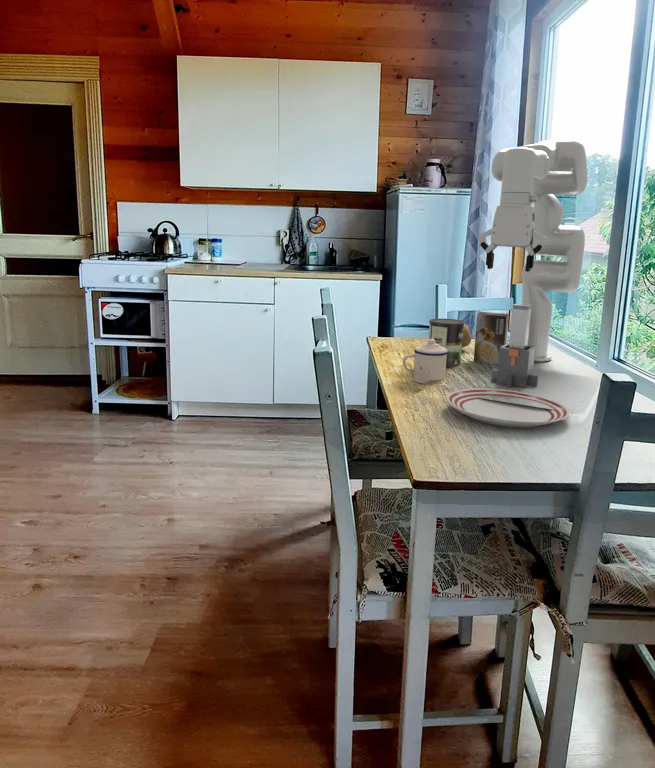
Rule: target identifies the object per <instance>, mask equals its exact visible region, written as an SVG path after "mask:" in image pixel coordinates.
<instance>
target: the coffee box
mask: <svg viewBox="0 0 655 768" xmlns="http://www.w3.org/2000/svg"><path fill="white" fill-rule="evenodd" d="M509 318H510V314H509V313H503V312H502V313H501V312H488V311H479V312H477V314H476V324H475V336H474V337H475V339H474V351H473V362H476V363H480V364H482V363H483V364H491V365H497V366H498V363H499V353H500V347H502V346H503V345H505V344H506V343H507V342H508V341H507V340H508V328H509Z"/></svg>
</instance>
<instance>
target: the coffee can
mask: <svg viewBox="0 0 655 768" xmlns="http://www.w3.org/2000/svg"><path fill="white" fill-rule="evenodd" d="M464 323H465V321H464V320H460V319H455V318H432V319H429V327H428V340H429V339H434V340H435V343H436V344H439V345H440V346H441V347H444V348H446V349H447V351H448V354H447V359H446V371H448V370H450V369H451V368H453V367H457V366H460V365H461V364H462V363H461V362H462V350H463V348H462V341H463V328H464Z"/></svg>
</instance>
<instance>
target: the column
mask: <svg viewBox="0 0 655 768" xmlns="http://www.w3.org/2000/svg"><path fill="white" fill-rule="evenodd" d="M531 308H532V305H529V304H522V303H514V304H512V308H511V310H512V311H511V321H510V330H509V338H508V339H509V340H508V343H509V348H512V349H520V350H527V344H528V335H529V326H530V317H531Z"/></svg>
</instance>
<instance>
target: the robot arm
mask: <svg viewBox="0 0 655 768" xmlns="http://www.w3.org/2000/svg"><path fill="white" fill-rule="evenodd" d="M491 174H492V176H493V179H495V180H496V181H498V182H501V188H500V189H501V190H500V200H499V205H497V206H496V208H495V213H494V216H493V221H492V226H491V229H489V230H486V231H484V232H482V233H480V234H478V235H477V239H478V241H479V244H480V247H481V248H482V249H483V250H484V252H485V253H486V255H485V256H486V258H485V266H487V267H486V268H487V269H488V270H491V269H493V268H494V259H495V253H494V251H495V249H497V247H510V248H511V247H512V248H524V249H525V250H526V251H527V256H526V261H525V264H524V265H523V267H522V270H521V286H522V290H521V291H522V297H521V304H529V305H532V308H531V317H530V326H529V335H528V344H527V346H535V355H534V363H536V362H537V363H538V362H540V363H542V362H549V361H552V355H551V354H549V353H548V346H549V340H550V339H549V338H550V331H551V321H552V313H553V303H552V299H551V298H550V297H549V296H548V294H547V293H546V292H549V293H550V292H554V293H565V294H566V293H567V294H569V293H571V294H572V293H574V292H576V291H577V289H578V288H579V285H580V281H581V274H582V267H583V259H584V251H585V242H586V236H585V235H586V234H585V232H584V229H583V228H581V227H579V226H577V225H563V224H562V223H563V215H564V208H563V205H562V204H561V202H560V200H559V199H558V198H557V197H556V196H557V195H558V196H562V195H563V196H564V195H565V196H577V195H580V194H582V193H583V192H584V191H585V190H586V188H587V184H588V178H589V176H588V164H587V155H586V149H585V146H584V145H583V143H582V142H581V141H580V140H578V139H550V140H549V139H548V140H541V141H539V142H538V143H534V144H527V145H522V146H517V147H510V148H509V147H508V148H504V149H502V150H499V151H498V152H497V153H496V154H495V155H494V157H493V159H492V161H491ZM532 204H533V206H532ZM489 236H490V244H488V243H487V241H486V238H488V237H489ZM535 255H537V256H541V257H542V256H544V257H559V258H565V259H566V261H563V260H562V261H560V260H557V261H556V260H555V261H554V260H548V259H547V260H545V259H535Z"/></svg>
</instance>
